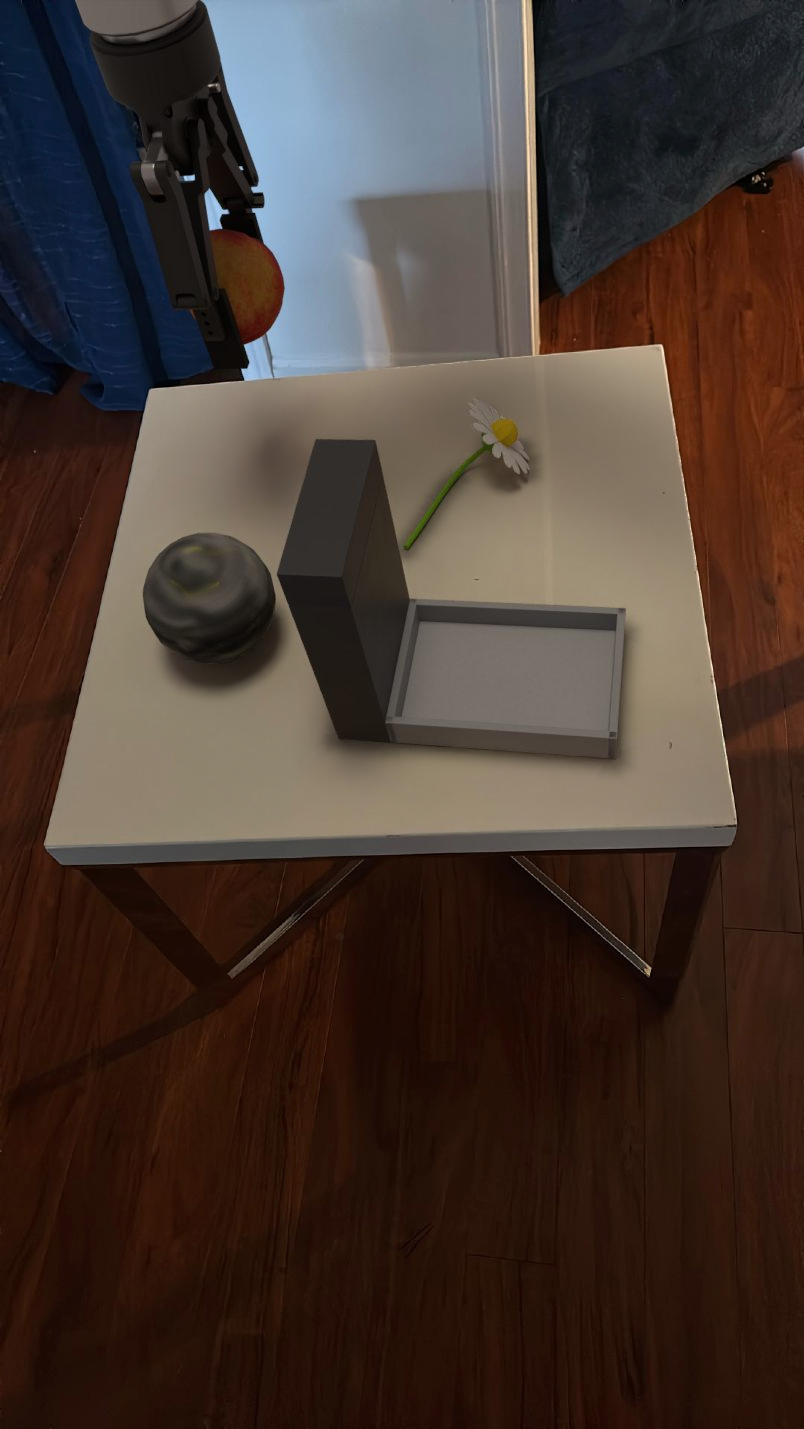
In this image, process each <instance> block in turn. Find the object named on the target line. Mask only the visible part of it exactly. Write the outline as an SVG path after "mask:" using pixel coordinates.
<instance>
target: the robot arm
mask: <svg viewBox="0 0 804 1429" xmlns="http://www.w3.org/2000/svg"><path fill="white" fill-rule="evenodd" d="M74 1H75V4H76V6H77V9H78V11H79V15H80V17H81V20H82V23H83V25H84V26H85V27H86V28H87V29H88V30H89V31H90V34H89V38H88V40H89V44H90V47H91V50H92V52H93V55H94V57H95V60H96V64H97V66H98V68H99V72H100V74H101V77H102V79H103V82H104V84H105V88H106V90H107V92H108V94H109V95H110V97H112V99H113V100H114V101H116V102H117V103H119V104H120V105H123V106H125V107H126V108H128V109H130V110H131V111H133V112H134V114H136V115H137V116H138V121H139V125H140V130H141V137H142V142H143V145H144V147H145V150H146V154H145V156H144V159H143V161H131V162H130V164H129V175H130V178H131V180H132V183H133V185H134V187H135V189H136V191H137V193H138V195H139V198H140V200H141V202H142V205H143V209H144V213H145V217H146V219H147V223H148V226H149V230H150V234H151V236H152V241H153V245H154V248H155V251H156V255H157V258H158V262H159V266H160V269H161V272H162V275H163V276H162V277H163V280H164V283H165V288H166V290H167V291H166V292H167V294H168V298H169V302H170V305H171V307H172V309H173V310H174V311H190V310H193V313H194V315H195V318H196V320H195V321H196V324H197V326H198V329H199V331H200V334H201V337H202V339H203V343H204V345H205V348H206V350H207V353H208V356H209V359H210V361H211V364H212V368H213V370H247V369H249V366H250V359H249V356H248V353H247V350H246V347H245V345H244V344H243V341H242V338H241V335H240V332H239V329H238V326H237V322H236V319H235V316H234V313H233V310H232V307H231V304H230V301H229V298H228V295H227V292H226V289H225V288H218V281H217V274H216V268H215V261H214V255H213V248H212V241H211V235H210V230H211V229H210V223H209V217H208V216H209V215H208V209H207V202H206V193H208V191H209V190H210V192H211V193H212V196H213V197H214V198H215V201H216V202H217V203H218V205H219V206H220V208H221V209H222V210H223V211H228V213H221V215H220V218H219V224H220V226H221V229H227V230H232V231H237V232H241V233H244V234H246V235H247V236H249V237H252V238H256V239H258V240H260V241H261V242H262V243H264V244H265V242H264V239H263V238H264V237H263V236H262V232H261V228H260V225H259V221H258V218H257V215H256V212H254V211H253V210H254V209H255V210H257V209H264V208H265V204H266V203H265V201H266V200H265V199H266V198H265V195H264V192H263V191H260V192H259V191H257V192H254V191H253V189H252V188H257V187H258V186H259V182H260V178H259V174H258V171H257V168H256V165H255V162H254V160H253V157H252V154H251V151H250V148H249V146H248V143H247V140H246V138H245V135H244V132H243V129H242V127H241V124H240V121H239V118H238V116H237V113H236V110H235V108H234V105H233V102H232V98H231V96H230V93H229V91H228V87H227V83H226V78H225V73H224V69H223V65H222V60H221V54H220V50H219V47H218V43H217V39H216V36H215V32H214V28H213V25H212V21H211V17H210V15H209V11H208V8H207V5H206V3H205V2H204V1H202V0H74ZM241 168H242V169H241ZM193 176H194V179H193V180H192V179H191V180H180V177H193ZM195 318H194V319H195Z"/></svg>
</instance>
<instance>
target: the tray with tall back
mask: <svg viewBox="0 0 804 1429" xmlns="http://www.w3.org/2000/svg"><path fill="white" fill-rule="evenodd" d="M276 576H277V579H278V581H279V584H280V587H281V590H282V592H283V595H284V598H285V601H286V603H287V605H288V608H289V611H290V613H291V616H292V619H293V621H294V624H295V627H296V629H297V632H298V636H299V638H300V640H301V643H302V645H303V648H304V651H305V653H306V657H307V659H308V662H309V664H310V667H311V669H312V672H313V675H314V678H315V680H316V683H317V685H318V688H319V691H320V693H321V696H322V698H323V702H324V704H325V706H326V709H327V712H328V714H329V717H330V720H331V722H332V726H333V728H334V730H335V733H336V736H337V738H338V739H341V740H342V739H343V740H355V741H356V740H357V741H369V742H385V743H396V744H411V745H422V746H423V745H424V746H438V747H452V748H465V749H466V748H467V749H477V750H478V749H480V750H491V751H493V750H494V751H506V752H521V753H535V754H544V755H545V754H548V755H559V756H560V755H561V756H573V757H574V756H575V757H585V758H586V757H587V758H588V757H590V758H600V759H601V758H602V759H611V760H613V759H615V760H616V758H617V748H618V735H619V734H618V733H619V718H620V706H621V705H620V703H621V687H622V674H623V659H624V645H625V632H626V631H625V630H626V618H627V617H626V615H627V608H626V607H611V606H589V605H588V606H587V605H569V604H568V605H566V604H545V603H543V604H542V603H539V604H538V603H522V602H521V603H519V602H498V601H497V602H496V601H475V600H474V601H473V600H453V599H452V600H451V599H433V598H430V599H429V598H411V597H410V593H409V590H408V589H409V588H408V583H407V580H406V575H405V571H404V566H403V561H402V556H401V552H400V547H399V543H398V537H397V533H396V529H395V523H394V519H393V515H392V511H391V506H390V501H389V496H388V492H387V487H386V482H385V478H384V473H383V468H382V462H381V458H380V454H379V449H378V444H377V441H376V439H348V438H347V439H344V438H343V439H341V438H334V439H333V438H329V439H328V438H316V439H315V440H314V443H313V447H312V450H311V454H310V457H309V461H308V464H307V467H306V472H305V475H304V478H303V482H302V484H301V488H300V492H299V495H298V499H297V503H296V505H295V509H294V512H293V516H292V520H291V523H290V526H289V530H288V533H287V537H286V540H285V543H284V547H283V551H282V554H281V558H280V561H279V564H278V568H277V572H276Z"/></svg>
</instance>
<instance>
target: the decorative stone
mask: <svg viewBox="0 0 804 1429" xmlns="http://www.w3.org/2000/svg"><path fill="white" fill-rule="evenodd" d="M142 602H143V608H144V615H145V619H146V622H147V623H148V625H149V627H150V629H151V630H152V631H153V633H154V635H155V637H156V638H157V640H158V641H159V642H160V643H161V644H162V645H163V646H164V647H165V648H167V649H168V650H169V651H171V652H172V653H174V654H175V655H176V656H178V657H179V658H182V659H184V660H187V661H191V662H194V663H198V664H203V665H205V664H206V665H214V664H215V665H216V664H223V663H227V662H230V661H234V660H237V659H239V658H241V657H242V656H244V655H246V654H247V653H249V652H251V651H252V650H253V649H254V648H255V647H256V646H257V645H258V644H259V643H260V642H261V641H262V640H263V639H264V637H265V636H266V634H267V632H268V630H269V628H270V627H271V625H272V623H273V619H274V613H275V609H276V602H277V597H276V590H275V586H274V581H273V577H272V574H271V572H270V570H269V568H268V565H267V564H265V562H264V561H263V560H262V558H261V557H260V556H259V554H258V553H257V552H256V551H255V549H253V548H252V547H250V546H249V545H247V544H246V543H244V542H243V541H241V540H240V539H238V538H236V537H234V536H231V535H226V534H222V533H219V532H195V533H193V534H188V535H185V536H182V537H180V538H178V539H177V540H175V541H173V542H171V543H169V544H168V545H167V546H166V547H165V548H164V549H163V550H162V551H160V552H159V553H158V555H157V556H156V557H155V559H154V560H153V562H152V564H151V565H150V567H148V570H147V573H146V576H145V580H144V584H143V588H142Z"/></svg>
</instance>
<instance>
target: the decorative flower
mask: <svg viewBox="0 0 804 1429" xmlns="http://www.w3.org/2000/svg"><path fill="white" fill-rule="evenodd" d="M472 402H473V403H471V402H468V403H467V406H468V408H469V409H470V410H469V412H468V414H469V415H470V416H471V417H472V418H473V419H474V420H475V421H477V422H474V423H472V427H473V428H474V429H475V431H477V432H479V433H481V435H480V436H481V445H482V447H481V448H479V449H478V450H476V451H475V452H474V453H473V454H472V455H470V456H469V457H468V458H467V459H466V460H465V461H464V462H463V463H462V464H461V465H460V466H459V467H458V468H457V469H456V470H455V472H454V473H453V475H451V477H450V478H449V479H448V481H446V483H445V485H444V486H443V488H442V490H441V491H440V492H439V493H438V495H437V496H436V498H435V500H434V501H433V503H432V504H431V505H430V507H429V508H428V510H427V511H426V512H425V515H424V516H423V517H422V519H421V520H420V522H419V523H418V525H417V526H416V527H415V529H414V531H413V532H412V534H410V535H409V538H408V539H407V540H406V542H405V543H404V544H403V546H402V547H403V549H405V550H409V548H410V547H411V545H412V544H413V543H414V541H415V540H416V539H417V537H418V535H419V534H420V533H421V531H423V529H424V527H425V525H426V524H427V522H428V521H429V519H430V518H431V517H432V515H433V513H434V512H435V511H436V509H437V507H438V506H439V505H440V503H441V501H442V500H443V498H444V497H445V496H446V494H447V493H448V491H449V490H450V488H451V487H452V486H453V485H454V483H455V482H456V480H457V479H458V478H459V477H460V476H461V474H462V473H463V472H464V471H465V470H466V468H468V467H469V466H470V465H471V464H472V463H473V462H474V461H475V460H476V459H478V458H479V457H480V456H482V455H483V454H484V453H485V452H488V453H489V454H491V455H493V457H494V458H496V459H500V458H501V457H503V462H504V465H505V466H506V467H507V468H508V469H511V468H512V469H513V471H514V473H516V474H517V475H520V474H521V471H522V472H523V474H524V475H528V471H530V466H529V464H528V462H529V461H530V457H529V455H528V453H527V452H526V451H525V448H524V446H523V444H522V443H521V442H520V441H519V439H518V438H519V429H518V426H517V424H516V422H515V421H514V420H512V419H509V418H504V417H503V416H500V415H499V414H498V412H497V410H496V409H495V408H494V407H493V406H492V405H490V406H489V407H488V406H487V404H486V403H485V402H483V401H482V400H478V399H477V398H474V397H472ZM527 461H528V462H527ZM520 469H521V470H520Z"/></svg>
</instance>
